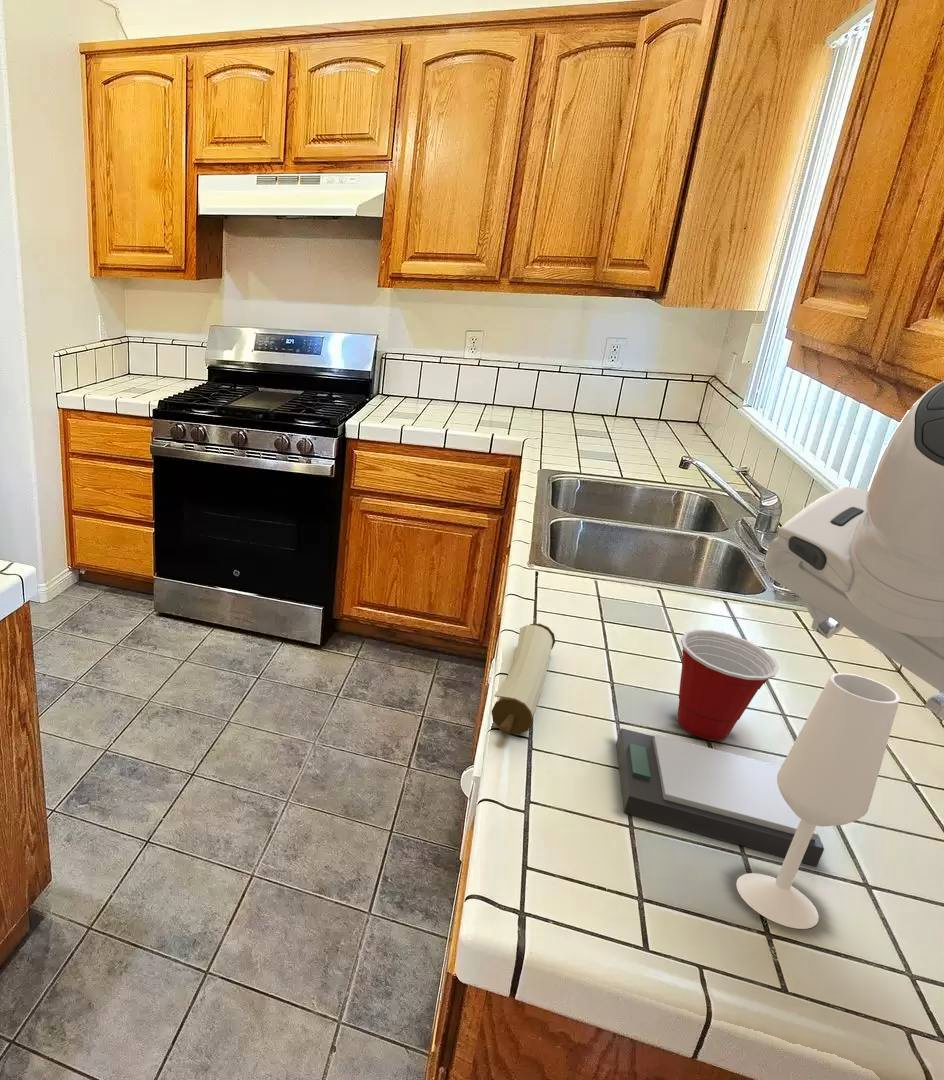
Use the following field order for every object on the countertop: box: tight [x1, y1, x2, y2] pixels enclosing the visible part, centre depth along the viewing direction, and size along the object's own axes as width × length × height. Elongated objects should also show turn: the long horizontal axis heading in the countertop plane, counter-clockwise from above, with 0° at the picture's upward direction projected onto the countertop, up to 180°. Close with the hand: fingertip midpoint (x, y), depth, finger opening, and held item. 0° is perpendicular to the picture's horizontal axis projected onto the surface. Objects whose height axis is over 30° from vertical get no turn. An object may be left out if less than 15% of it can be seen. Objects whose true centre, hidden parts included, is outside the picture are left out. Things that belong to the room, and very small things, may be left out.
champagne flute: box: [735, 672, 901, 930], centre depth 69 cm, size 7×7×24 cm
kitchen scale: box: [616, 727, 825, 867], centre depth 86 cm, size 18×14×3 cm
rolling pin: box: [491, 623, 556, 735], centre depth 106 cm, size 32×6×5 cm, turn 150°
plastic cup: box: [677, 628, 780, 741], centre depth 97 cm, size 11×11×12 cm
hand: (881, 667), depth 63 cm, fingers open, 8 cm apart
